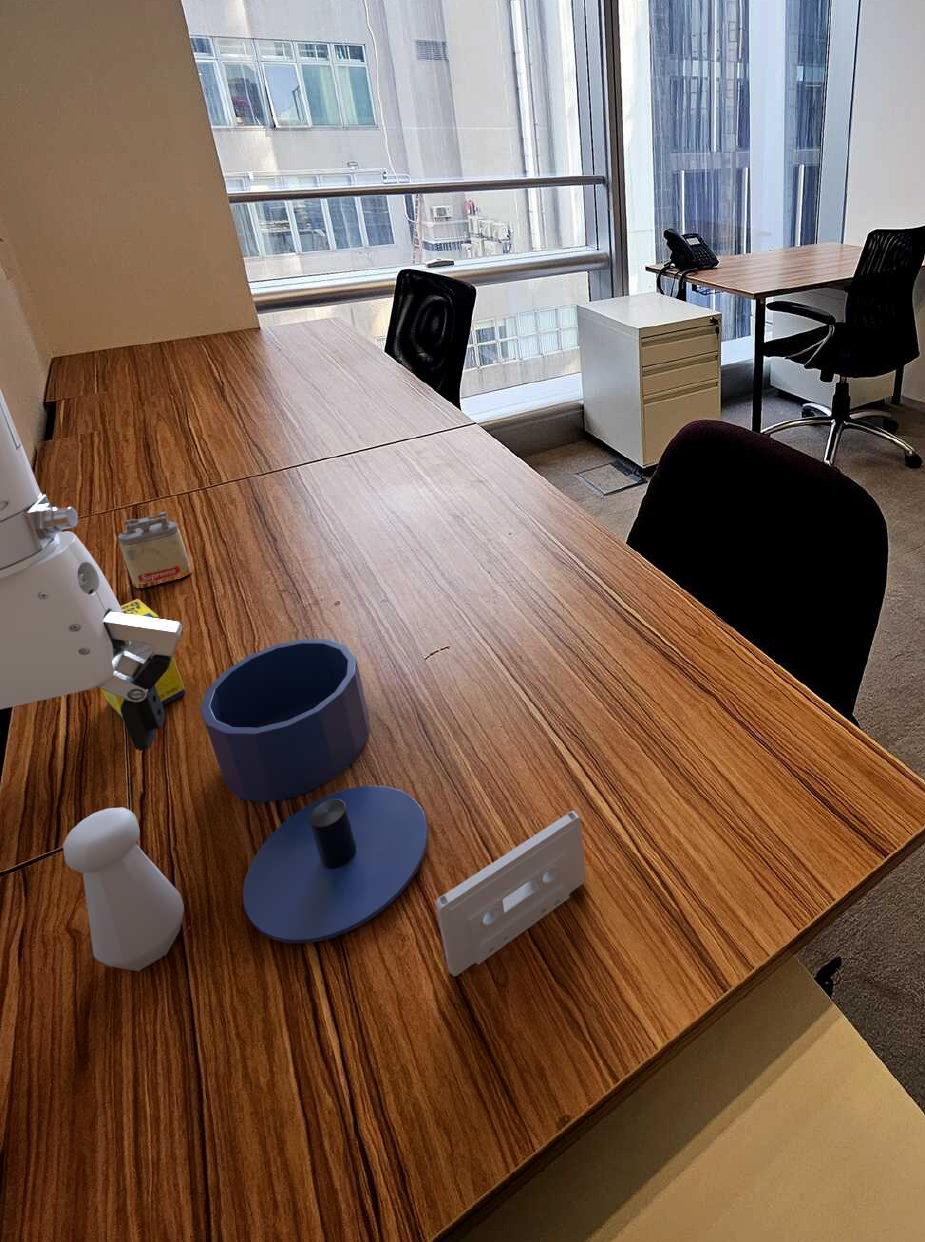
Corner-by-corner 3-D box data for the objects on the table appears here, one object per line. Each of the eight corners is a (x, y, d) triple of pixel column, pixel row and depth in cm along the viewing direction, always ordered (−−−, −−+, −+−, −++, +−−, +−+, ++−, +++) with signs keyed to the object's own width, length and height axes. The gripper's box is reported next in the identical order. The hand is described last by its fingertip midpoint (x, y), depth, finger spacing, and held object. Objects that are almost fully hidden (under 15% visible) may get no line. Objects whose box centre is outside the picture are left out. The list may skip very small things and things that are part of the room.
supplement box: (165, 674, 87) (138, 596, 83) (187, 694, 84) (160, 615, 80) (105, 704, 83) (74, 623, 79) (127, 726, 80) (94, 644, 75)
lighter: (132, 592, 103) (110, 530, 99) (134, 579, 106) (113, 518, 102) (192, 577, 106) (174, 516, 103) (193, 565, 109) (174, 505, 106)
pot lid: (229, 977, 56) (209, 923, 54) (260, 821, 68) (245, 772, 66) (432, 910, 61) (421, 857, 58) (426, 775, 73) (417, 728, 71)
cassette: (578, 869, 64) (572, 804, 61) (590, 884, 62) (584, 819, 60) (445, 964, 57) (430, 896, 54) (455, 984, 55) (441, 915, 52)
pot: (209, 820, 69) (185, 750, 65) (237, 719, 80) (217, 656, 77) (367, 777, 73) (351, 710, 70) (371, 687, 85) (358, 627, 82)
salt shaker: (84, 966, 57) (25, 846, 52) (158, 898, 62) (110, 783, 57) (136, 995, 55) (79, 873, 50) (208, 923, 60) (162, 806, 55)
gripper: (157, 489, 50) (222, 688, 57) (-175, 538, 45) (-62, 752, 51) (121, 541, 44) (199, 759, 50) (-273, 606, 38) (-129, 842, 45)
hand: (67, 755), depth 51 cm, fingers open, 9 cm apart
